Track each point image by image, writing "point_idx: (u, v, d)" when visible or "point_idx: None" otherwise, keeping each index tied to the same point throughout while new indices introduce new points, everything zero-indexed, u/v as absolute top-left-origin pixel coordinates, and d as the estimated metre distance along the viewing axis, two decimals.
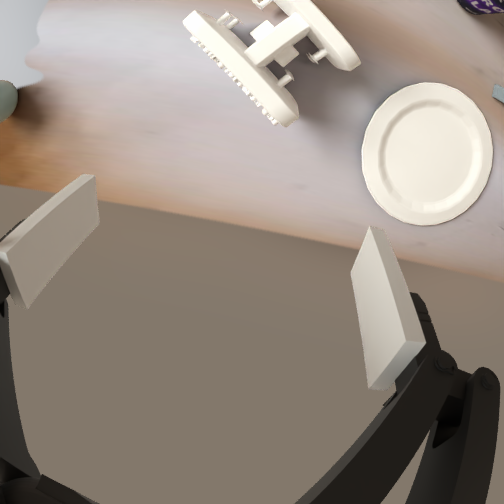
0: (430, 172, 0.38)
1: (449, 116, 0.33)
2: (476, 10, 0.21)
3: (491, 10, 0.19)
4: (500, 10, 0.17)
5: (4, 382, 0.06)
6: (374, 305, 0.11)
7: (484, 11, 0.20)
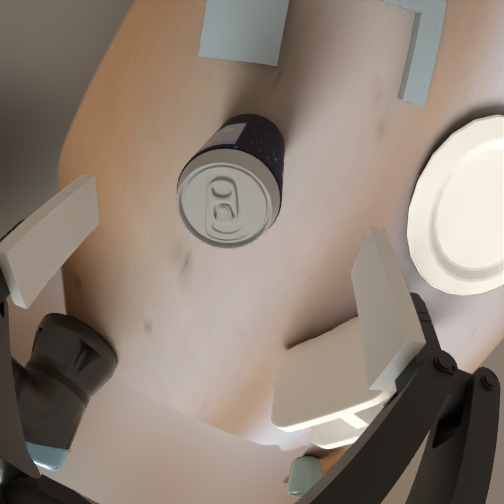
0: None
1: (450, 189, 0.25)
2: None
3: None
4: None
5: (4, 382, 0.06)
6: (374, 305, 0.11)
7: None
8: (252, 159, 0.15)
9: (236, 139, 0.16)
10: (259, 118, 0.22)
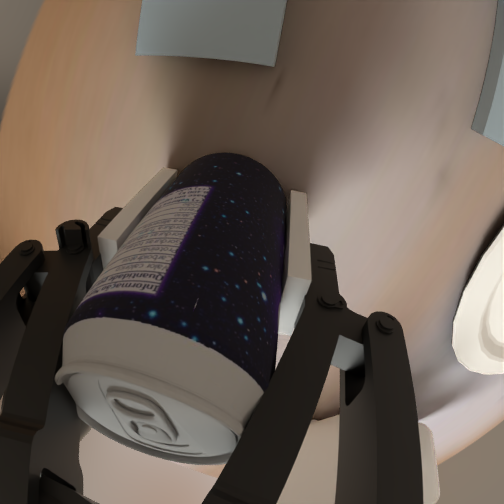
0: None
1: None
2: None
3: None
4: None
5: None
6: None
7: None
8: (195, 352, 0.06)
9: (168, 263, 0.07)
10: (241, 164, 0.13)
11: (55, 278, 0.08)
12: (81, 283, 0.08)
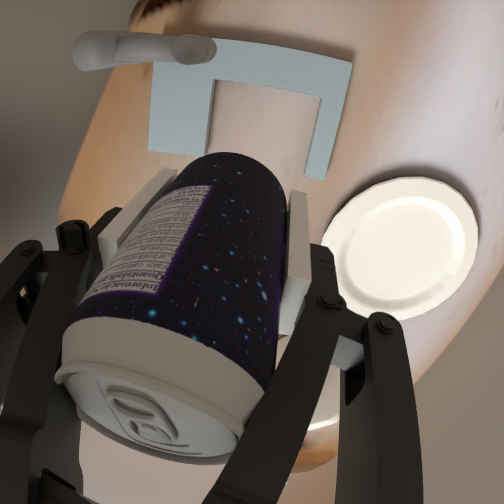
0: (419, 256, 0.34)
1: (356, 240, 0.34)
2: None
3: None
4: None
5: None
6: None
7: None
8: (194, 352, 0.06)
9: (168, 262, 0.07)
10: (241, 163, 0.13)
11: (55, 278, 0.08)
12: (81, 283, 0.08)
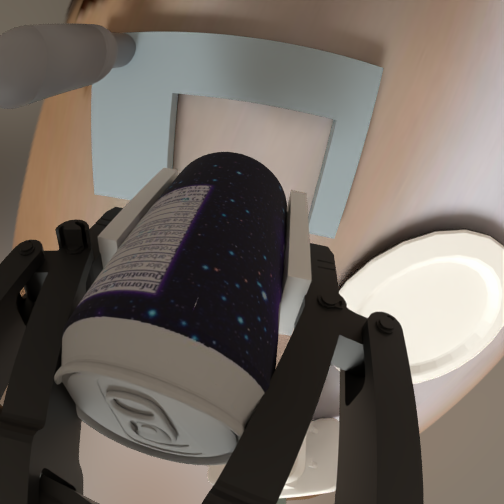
0: (446, 319, 0.26)
1: (371, 306, 0.26)
2: None
3: None
4: None
5: None
6: None
7: None
8: (194, 352, 0.06)
9: (168, 262, 0.07)
10: (241, 163, 0.13)
11: (56, 278, 0.08)
12: (81, 283, 0.08)
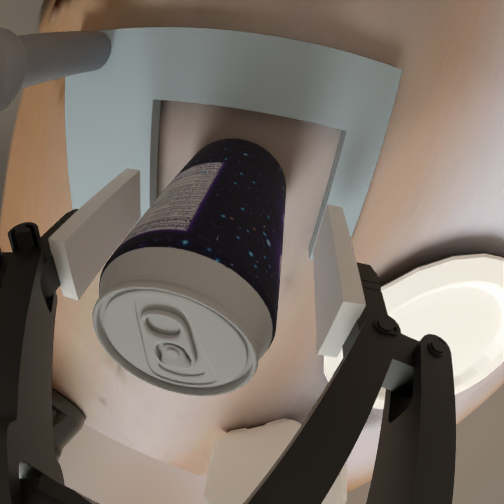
0: (457, 343, 0.23)
1: None
2: None
3: None
4: None
5: (41, 381, 0.07)
6: (325, 275, 0.12)
7: None
8: (217, 270, 0.08)
9: (194, 211, 0.09)
10: (247, 147, 0.15)
11: (12, 279, 0.08)
12: (36, 282, 0.08)
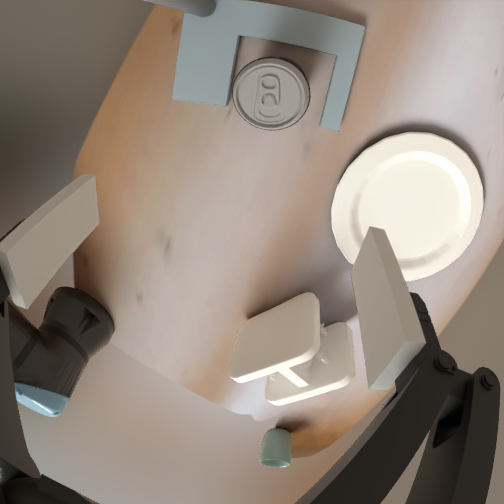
0: (428, 213, 0.35)
1: (368, 193, 0.35)
2: None
3: None
4: None
5: (4, 382, 0.06)
6: (374, 305, 0.11)
7: None
8: (290, 65, 0.19)
9: None
10: (288, 59, 0.26)
11: None
12: None
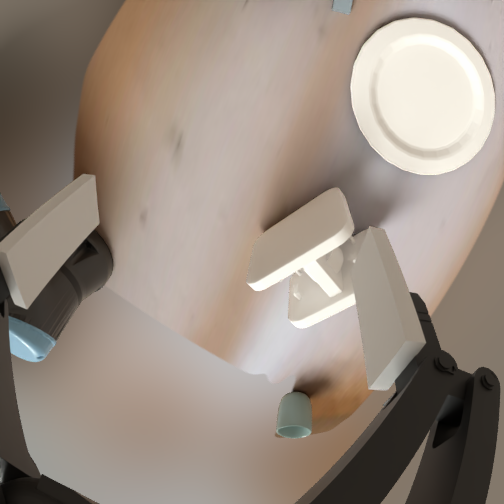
0: (444, 98, 0.31)
1: (384, 74, 0.31)
2: None
3: None
4: None
5: (4, 382, 0.06)
6: (374, 305, 0.11)
7: None
8: None
9: None
10: None
11: None
12: None
